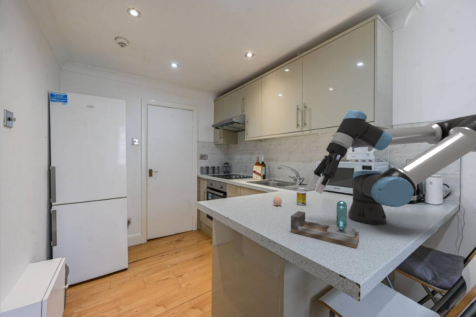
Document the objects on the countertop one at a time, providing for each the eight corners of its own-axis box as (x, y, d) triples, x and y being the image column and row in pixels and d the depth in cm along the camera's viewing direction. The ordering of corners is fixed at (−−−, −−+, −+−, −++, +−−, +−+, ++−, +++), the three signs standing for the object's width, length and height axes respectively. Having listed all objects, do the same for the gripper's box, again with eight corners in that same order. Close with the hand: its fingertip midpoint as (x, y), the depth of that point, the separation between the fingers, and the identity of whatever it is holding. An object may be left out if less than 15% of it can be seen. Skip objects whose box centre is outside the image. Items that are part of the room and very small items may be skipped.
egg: (276, 204, 120) (276, 194, 120) (283, 205, 117) (283, 196, 117) (271, 205, 117) (271, 195, 117) (278, 207, 113) (278, 197, 113)
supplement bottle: (302, 206, 116) (302, 189, 116) (294, 204, 121) (294, 187, 121) (307, 204, 119) (308, 188, 119) (300, 203, 124) (300, 187, 124)
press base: (290, 232, 76) (290, 215, 76) (298, 226, 82) (298, 211, 82) (356, 248, 63) (356, 228, 63) (358, 239, 69) (359, 221, 69)
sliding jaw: (326, 235, 69) (327, 201, 68) (331, 229, 74) (331, 197, 74) (353, 241, 64) (353, 204, 64) (355, 234, 69) (355, 200, 69)
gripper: (321, 144, 94) (299, 182, 94) (342, 137, 69) (312, 189, 70) (336, 151, 93) (313, 190, 93) (362, 147, 68) (331, 199, 69)
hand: (313, 189), depth 82 cm, fingers open, 13 cm apart
